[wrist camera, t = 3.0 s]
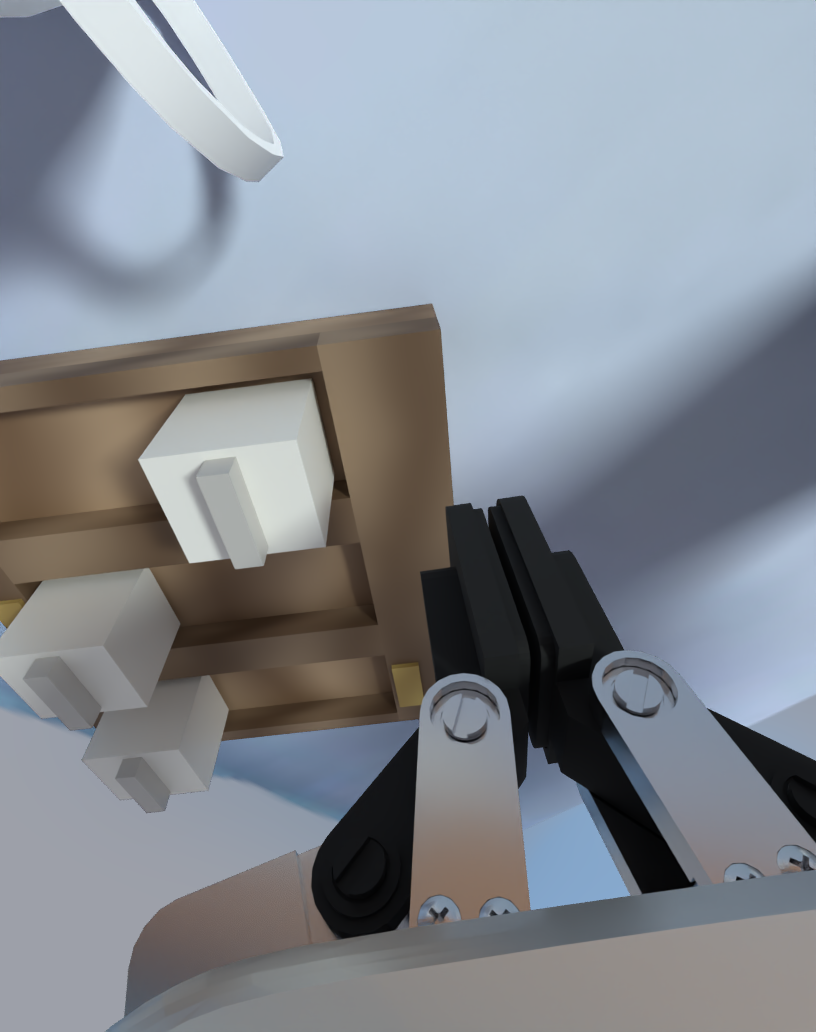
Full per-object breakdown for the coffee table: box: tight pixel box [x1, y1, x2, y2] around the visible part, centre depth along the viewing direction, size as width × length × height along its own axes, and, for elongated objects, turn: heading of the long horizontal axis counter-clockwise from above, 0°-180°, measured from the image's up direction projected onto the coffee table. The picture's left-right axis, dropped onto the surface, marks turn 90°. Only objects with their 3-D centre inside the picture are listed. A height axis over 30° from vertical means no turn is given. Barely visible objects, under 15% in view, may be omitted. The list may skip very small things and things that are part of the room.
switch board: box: [0, 304, 454, 741], centre depth 21 cm, size 18×19×3 cm
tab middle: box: [0, 568, 180, 731], centre depth 19 cm, size 4×4×5 cm
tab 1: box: [82, 675, 229, 813], centre depth 23 cm, size 4×4×5 cm
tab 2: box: [138, 378, 335, 569], centre depth 15 cm, size 4×4×5 cm
